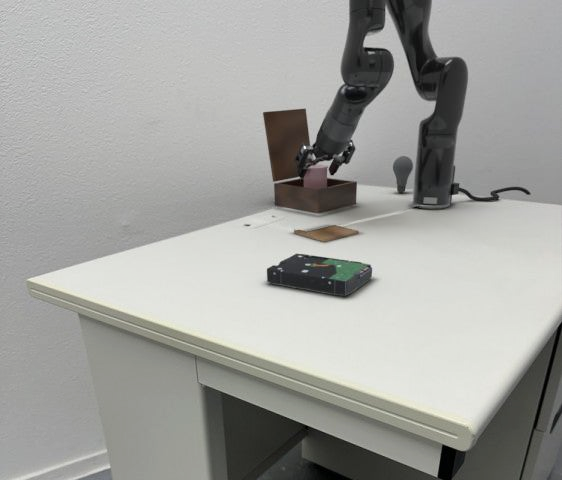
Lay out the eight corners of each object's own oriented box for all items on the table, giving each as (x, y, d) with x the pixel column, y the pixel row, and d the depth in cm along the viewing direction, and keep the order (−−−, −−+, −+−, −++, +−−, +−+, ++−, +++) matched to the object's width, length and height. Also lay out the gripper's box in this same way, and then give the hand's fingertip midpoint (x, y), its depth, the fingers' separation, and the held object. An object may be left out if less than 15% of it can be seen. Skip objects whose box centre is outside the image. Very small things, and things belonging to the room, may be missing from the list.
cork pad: (327, 225, 125) (327, 223, 125) (358, 233, 118) (358, 230, 118) (293, 233, 120) (293, 230, 120) (323, 242, 113) (324, 239, 113)
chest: (356, 206, 143) (357, 181, 139) (318, 216, 134) (318, 190, 131) (312, 199, 153) (312, 175, 150) (274, 208, 144) (274, 183, 141)
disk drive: (266, 285, 91) (347, 297, 84) (265, 269, 90) (347, 280, 83) (296, 267, 99) (372, 278, 92) (295, 252, 98) (373, 261, 91)
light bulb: (409, 191, 159) (412, 154, 154) (411, 194, 154) (414, 157, 149) (390, 191, 160) (392, 155, 155) (392, 195, 155) (394, 157, 150)
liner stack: (316, 200, 147) (316, 163, 142) (332, 204, 142) (333, 165, 138) (298, 204, 143) (297, 166, 139) (314, 208, 139) (314, 168, 134)
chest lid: (305, 108, 143) (303, 108, 144) (264, 111, 134) (262, 112, 135) (313, 174, 149) (311, 174, 150) (274, 181, 140) (272, 181, 141)
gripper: (360, 112, 127) (335, 159, 142) (304, 115, 122) (285, 164, 137) (370, 139, 125) (345, 184, 140) (315, 143, 121) (294, 189, 135)
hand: (315, 174), depth 139 cm, fingers open, 8 cm apart
